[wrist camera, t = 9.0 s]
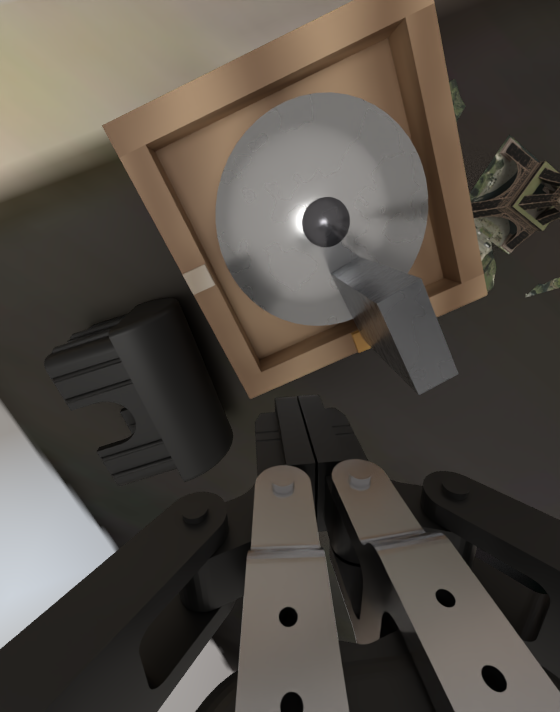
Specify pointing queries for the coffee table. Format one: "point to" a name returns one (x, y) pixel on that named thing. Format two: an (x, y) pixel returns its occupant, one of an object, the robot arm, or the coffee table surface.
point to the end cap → (146, 391)
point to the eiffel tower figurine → (511, 200)
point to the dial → (334, 227)
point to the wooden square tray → (251, 101)
